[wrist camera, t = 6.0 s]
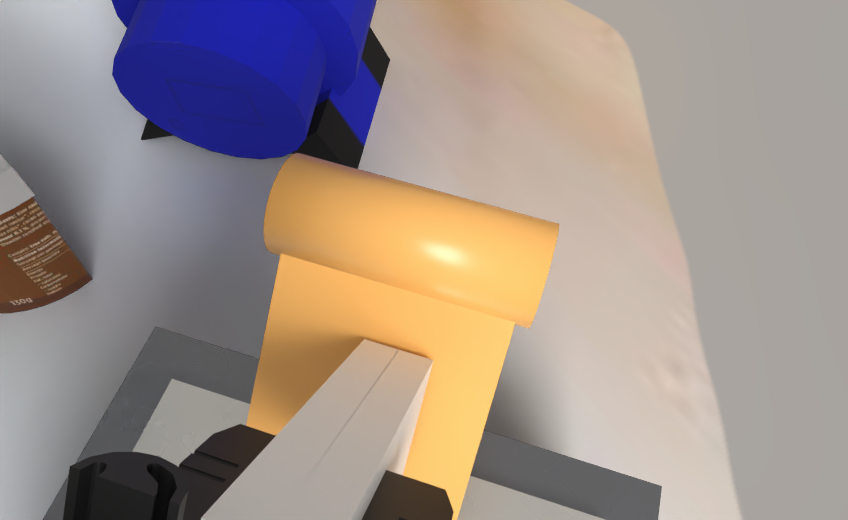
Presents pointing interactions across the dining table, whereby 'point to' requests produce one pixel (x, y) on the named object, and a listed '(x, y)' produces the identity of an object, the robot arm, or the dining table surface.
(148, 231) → the dining table surface
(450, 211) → the lever
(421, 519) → the robot arm
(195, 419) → the box
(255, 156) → the alarm clock
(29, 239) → the food container
